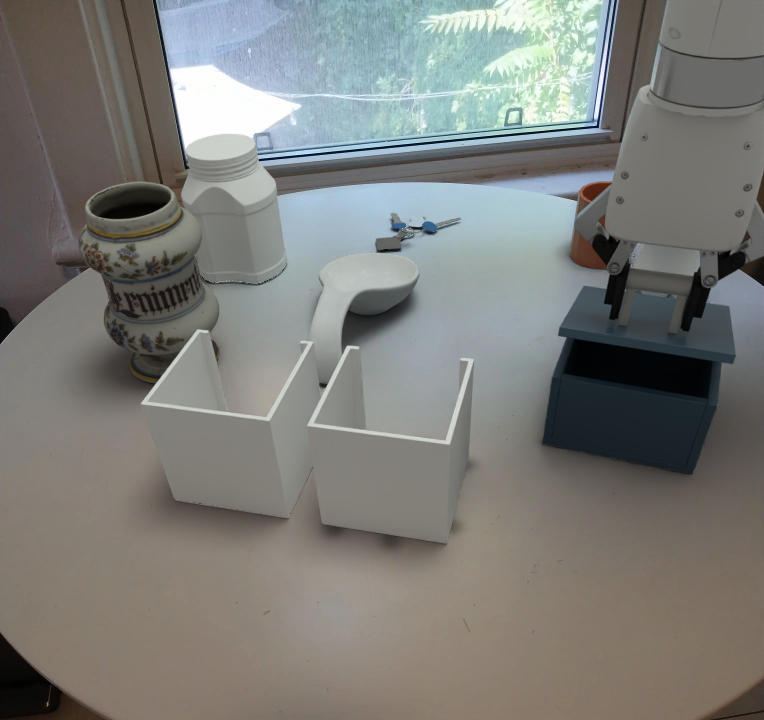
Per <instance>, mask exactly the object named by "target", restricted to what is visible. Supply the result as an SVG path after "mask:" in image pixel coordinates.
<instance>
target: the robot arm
mask: <svg viewBox="0 0 764 720" xmlns="http://www.w3.org/2000/svg"><path fill="white" fill-rule="evenodd" d="M665 4H666V5H665V10H664V14H663V18H662V24H661V28H660V34H659V40H658V44H657V49H656V53H655V58H654V63H653V69H652V73H651V79H650V84H647V85H644V86H641V87H640V88H639V89H638V91H637V94H636V96H635V99H634V102H633V105H632V107H631V110H630V113H629V116H628V119H627V122H626V125H625V129H624V133H623V137H622V139H621V144H620V147H619V151H618V156H617V158H616V159H617V160H616V163H615V167H614V172H613V176H612V180H611V181H612V184H611V185H610V186H609V187H607V188H606V189H605V190H604V191H603V192H602V193H601V194H600V195H599V196H598V197H596V198H595V199H594V200H593V201H592V202H591V203H590V204H589V205H588V206H586V207H585V208H584V209H583V210H582V211H581V212H580V213H579V214H578V215H577V217H576V219H575V218H574V220H575V222H574V221H573V226H574V228H575V229H576V230H577V231H578V232H579V233H580V234H581V235H582V236H583V237H584V238H585V239H586V240H587V242H588V241H589V242H590V244H591V245H592V248H593V249H594V251H595V252H596V253H597V255H598V256H599V257H600V258H601V260H602V261H603V262H604V263H605V265H606V266H607V269H606V272H607V273H608V280H607V286H606V289H607V290H606V295H605V300H604V304H607V305H612V306H611V311H610V316H609V320H615V319H618V317H619V313H620V309H621V306H622V302H623V298H624V293H625V291H626V288H625V285H626V280H627V276H628V271H629V269H630V268H631V265H632V262H630V257H631V255H632V253H633V252H634V250H635V248H636V246H637V245H638V244H643V245H644V244H650V245H658V246H666V247H674V248H682V249H690V250H698V252H699V264H700V265H699V266H698V271H697V272H694V275H693V276H694V280H693V285H692V288H691V292H690V295H689V297H687V298H686V303H685V307H684V310H683V315H682V321H681V327H680V329H682V331H687V332H689V330H690V327H691V323H692V320H693V317H695V318H702V316H703V313H704V309H705V306H706V303H708V300H709V296H710V294H711V293H710V292H711V290H712V288H714V287H715V286H717V284H718V283H719V281H722V280H723V279H725V278H727V277H728V276H729V275H731V274H733V273H735V272H737V271H739V270H740V269H742V268H743V267H744V266H746V264H748V263H752V262H754V261H756V260H759V259H760V258H763V257H764V212H763V210H762V207H761V206H760V204H759V201H758V200H757V199H758V195H759V190H760V187H761V183H762V179H763V175H764V0H666V3H665ZM605 214H606V216H605V229H604V228H603V227H602V225H601V224H600V223H599V221H598V220H599V219H600V218H602V217H603V216H604V215H605ZM746 233H747V234H748V235H749V237H750V238H748V240H747V239H746V241H744V242H743V240H744V238H745V236H746ZM615 238H616V239H618V240H617V241H616V240H615ZM742 242H743V243H742Z"/></svg>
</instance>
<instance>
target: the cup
mask: <svg viewBox="0 0 764 720" xmlns="http://www.w3.org/2000/svg"><path fill="white" fill-rule="evenodd" d="M612 181H613V180H611V181H610V180H609V181H608V180H607V181H606V180H604V181H603V180H602V181H595V182H590V183H587V184H584V185H583V186H581V187H580V189H579V190H578V194H577V200H576V208H575V214H574V220H573V223H574V222H575V219H576V217H577V215H578V214H579V213H580V212H581V211H582V210H583V209H584V208H585V207H586V206H588V205H589V204H590V203H591V202H592V201H593V200H594V199H595V198H596V197H598V196H599V195H600V194H601V193H602V192H603V191H604V190H605V189H606V188H607V187H609V186H610V185H611V184H612ZM605 216H606V214H605V215H604V216H603V217H602V218H600V219H599V220H598V221H599V223H600V224H601V225H602V227H603V228H604V229H605ZM615 240H616V241H617V240H618V239H616V238H615ZM570 241H571V242H570V246H569V247H570V248H569V249H570V250H569V256H570V258H571V260H572V261H573V262H574V263H576V264H577V265H579V266H582V267H585V268H587V269H588V268H589V269H594V270H607V266H606V265H605V263H604V262H603V261H602V260H601V258H600V257H599V256H598V255H597V253H596V252H595V251H594V249H593V248H592V245H591V244H590V242H589V241H588V242H587V240H586V239H585V238H584V237H583V236H582V235H581V234H580V233H579V232H578V231H577V230H576V229H575V228H574V225H573V227H572V234H571V240H570Z"/></svg>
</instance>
